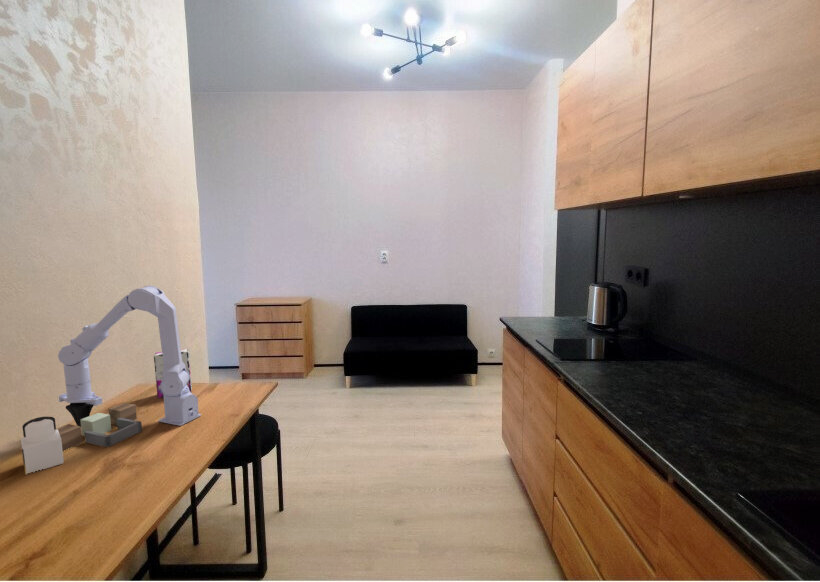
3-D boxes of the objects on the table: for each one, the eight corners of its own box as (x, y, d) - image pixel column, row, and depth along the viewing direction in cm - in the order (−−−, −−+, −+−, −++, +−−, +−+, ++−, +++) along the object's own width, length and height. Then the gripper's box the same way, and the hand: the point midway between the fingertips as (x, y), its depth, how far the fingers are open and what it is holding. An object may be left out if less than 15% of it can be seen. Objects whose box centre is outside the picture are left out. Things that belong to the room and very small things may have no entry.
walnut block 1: (82, 443, 111) (80, 426, 110) (62, 451, 106) (60, 434, 106) (70, 440, 112) (68, 424, 112) (49, 448, 108) (48, 431, 107)
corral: (142, 431, 118) (141, 421, 117) (107, 447, 108) (106, 437, 108) (120, 426, 121) (119, 417, 120) (85, 442, 111) (84, 432, 111)
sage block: (111, 430, 118) (109, 414, 118) (93, 438, 114) (92, 421, 113) (99, 428, 120) (98, 412, 119) (81, 435, 115) (80, 419, 115)
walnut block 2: (136, 419, 126) (135, 404, 125) (121, 426, 121) (119, 410, 121) (125, 417, 127) (124, 402, 127) (110, 423, 123) (108, 408, 122)
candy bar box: (192, 388, 152) (189, 348, 150) (191, 393, 148) (188, 351, 146) (158, 393, 147) (155, 351, 145) (156, 398, 143) (153, 355, 141)
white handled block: (23, 464, 100) (18, 420, 99) (60, 453, 105) (55, 411, 104) (25, 475, 95) (19, 429, 94) (64, 463, 100) (59, 419, 99)
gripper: (110, 379, 119) (114, 421, 121) (73, 376, 122) (77, 417, 124) (86, 388, 112) (91, 432, 114) (48, 384, 116) (53, 427, 117)
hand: (82, 425), depth 119 cm, fingers closed
